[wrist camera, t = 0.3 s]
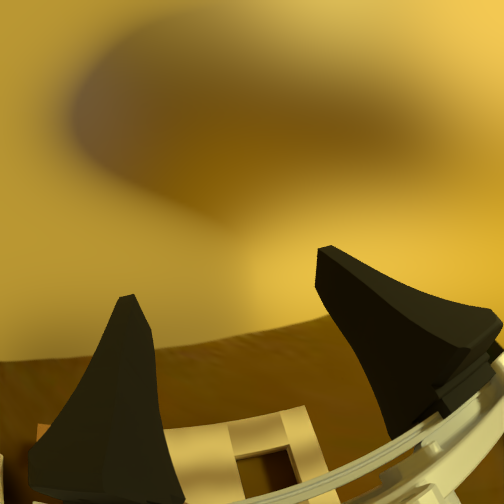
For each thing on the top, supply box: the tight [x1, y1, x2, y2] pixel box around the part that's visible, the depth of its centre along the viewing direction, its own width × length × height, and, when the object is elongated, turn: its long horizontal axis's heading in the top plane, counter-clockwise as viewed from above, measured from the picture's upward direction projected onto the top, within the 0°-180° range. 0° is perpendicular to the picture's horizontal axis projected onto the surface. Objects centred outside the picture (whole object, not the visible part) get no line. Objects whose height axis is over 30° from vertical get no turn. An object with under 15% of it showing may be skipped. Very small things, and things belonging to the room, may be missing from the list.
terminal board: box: [164, 405, 340, 504], centre depth 18 cm, size 12×18×6 cm, turn 103°
